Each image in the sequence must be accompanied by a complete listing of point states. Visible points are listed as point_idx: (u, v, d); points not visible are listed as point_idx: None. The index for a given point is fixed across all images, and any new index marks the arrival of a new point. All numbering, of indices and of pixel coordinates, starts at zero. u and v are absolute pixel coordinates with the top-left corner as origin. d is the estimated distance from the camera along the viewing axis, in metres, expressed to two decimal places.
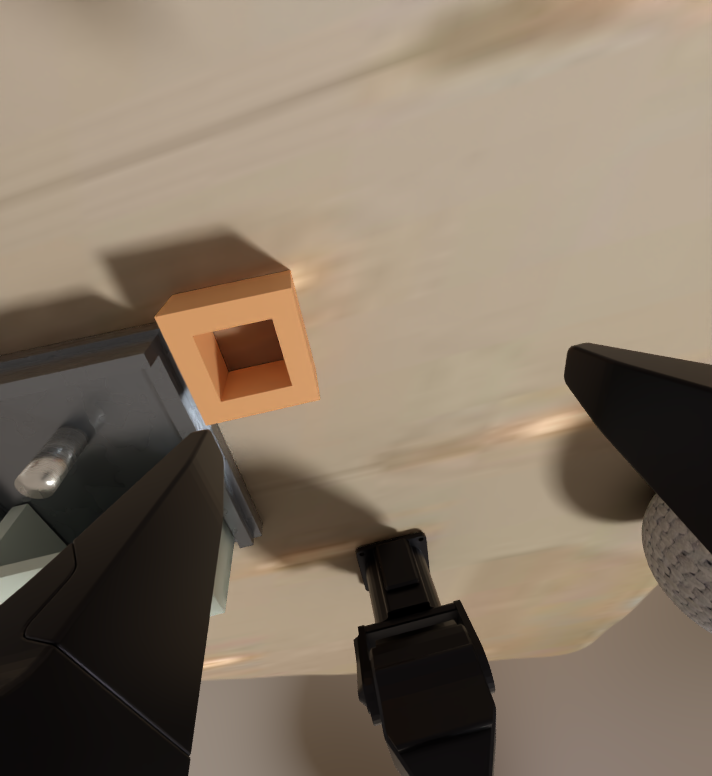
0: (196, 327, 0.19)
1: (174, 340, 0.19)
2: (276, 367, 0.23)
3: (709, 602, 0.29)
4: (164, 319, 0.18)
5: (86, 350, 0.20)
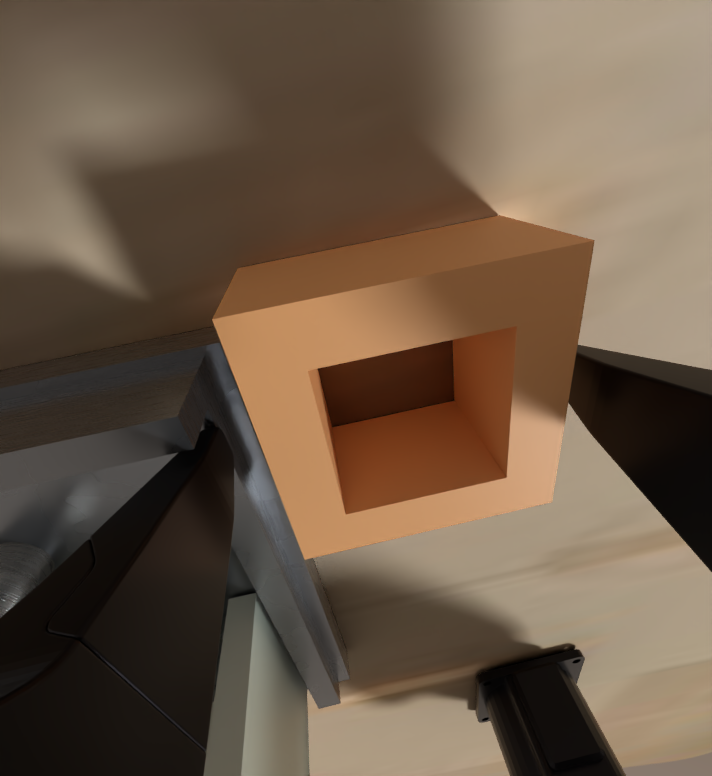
0: (322, 348, 0.07)
1: (260, 382, 0.07)
2: (434, 422, 0.11)
3: None
4: (240, 325, 0.06)
5: (39, 395, 0.09)
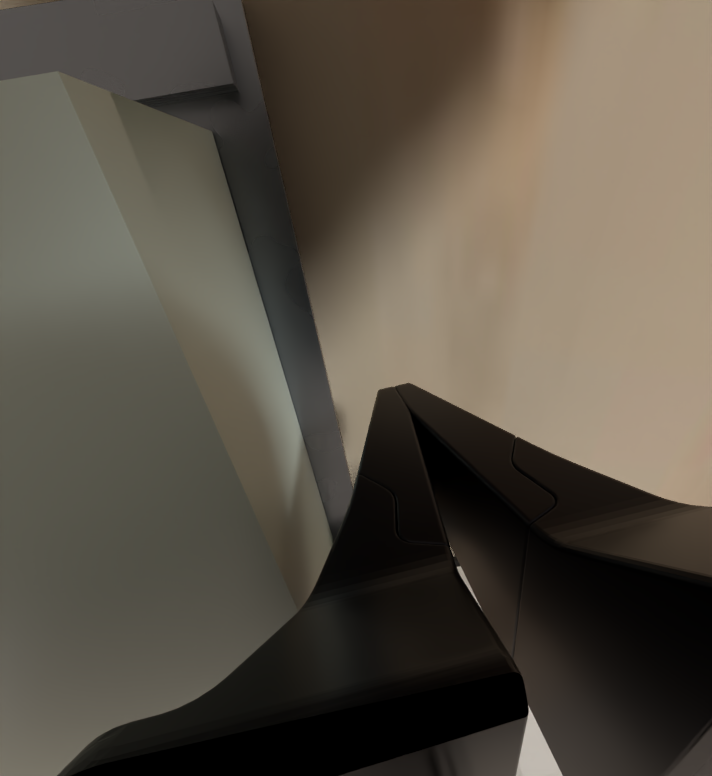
0: None
1: None
2: None
3: None
4: None
5: None
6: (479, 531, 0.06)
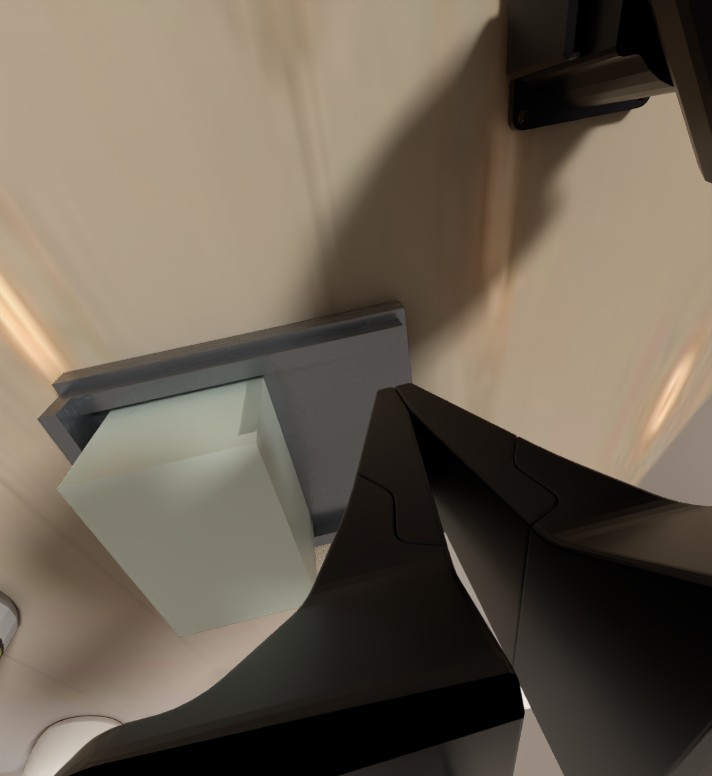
0: None
1: None
2: None
3: None
4: None
5: None
6: (480, 532, 0.06)
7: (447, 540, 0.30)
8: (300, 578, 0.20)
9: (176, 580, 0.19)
